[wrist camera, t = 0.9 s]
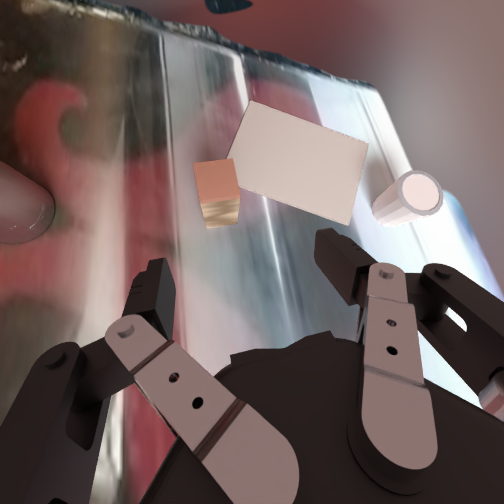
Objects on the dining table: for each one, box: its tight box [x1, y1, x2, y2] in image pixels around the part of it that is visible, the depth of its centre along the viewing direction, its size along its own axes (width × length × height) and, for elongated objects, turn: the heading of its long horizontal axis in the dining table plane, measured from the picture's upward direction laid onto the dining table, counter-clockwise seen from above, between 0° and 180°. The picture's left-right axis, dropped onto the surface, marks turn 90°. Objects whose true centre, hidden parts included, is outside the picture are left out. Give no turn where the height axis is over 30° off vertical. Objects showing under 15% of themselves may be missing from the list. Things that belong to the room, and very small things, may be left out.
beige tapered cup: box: [372, 170, 443, 227], centre depth 36 cm, size 7×7×7 cm
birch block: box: [193, 158, 240, 228], centre depth 31 cm, size 5×5×10 cm
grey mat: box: [227, 100, 369, 226], centre depth 39 cm, size 22×16×1 cm
